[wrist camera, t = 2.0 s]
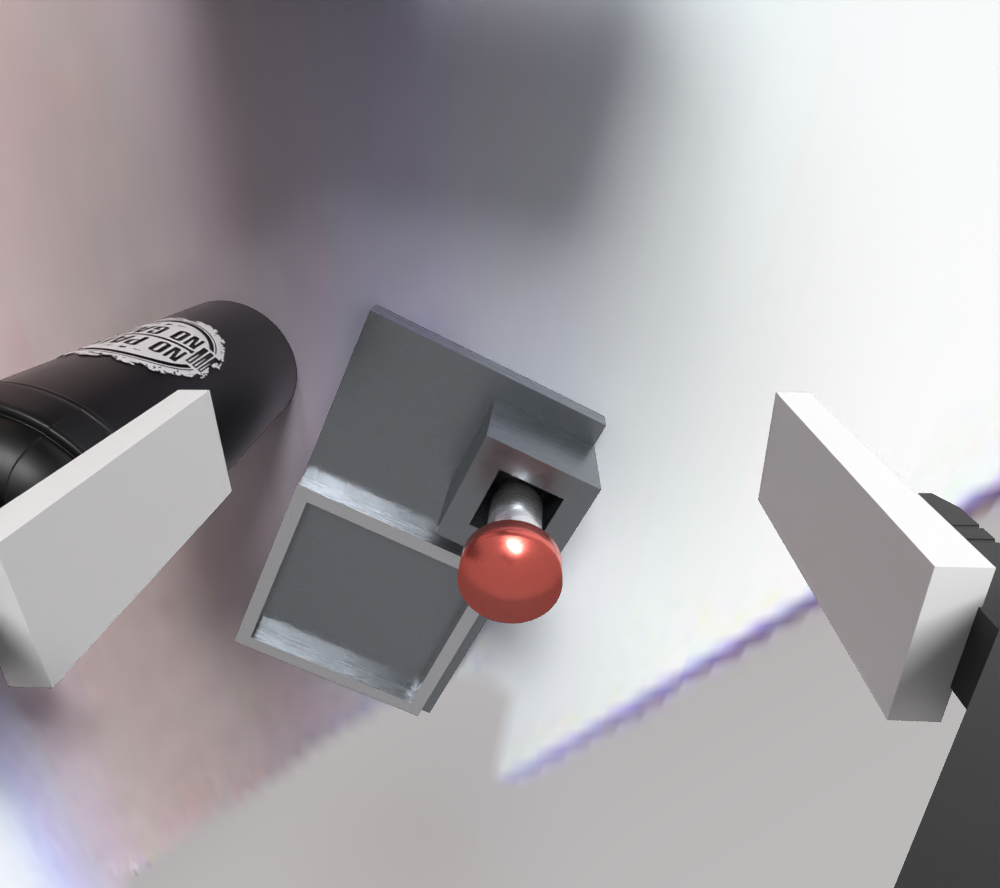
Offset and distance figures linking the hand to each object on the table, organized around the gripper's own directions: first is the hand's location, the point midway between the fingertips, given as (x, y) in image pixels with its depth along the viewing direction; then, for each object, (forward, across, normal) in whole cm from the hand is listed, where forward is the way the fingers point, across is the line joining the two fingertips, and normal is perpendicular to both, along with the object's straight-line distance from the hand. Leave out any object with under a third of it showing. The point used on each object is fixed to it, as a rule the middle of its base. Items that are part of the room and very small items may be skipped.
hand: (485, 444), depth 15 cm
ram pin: (+20, 0, -13) cm, 23 cm away
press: (+25, -8, -18) cm, 33 cm away
